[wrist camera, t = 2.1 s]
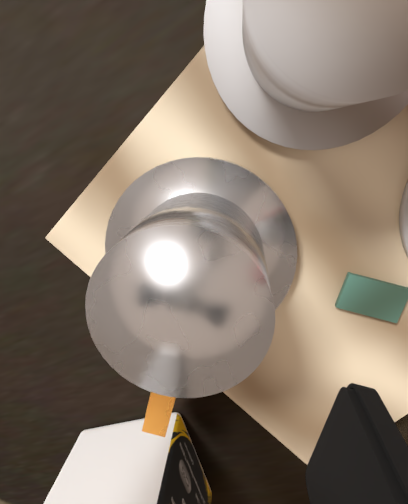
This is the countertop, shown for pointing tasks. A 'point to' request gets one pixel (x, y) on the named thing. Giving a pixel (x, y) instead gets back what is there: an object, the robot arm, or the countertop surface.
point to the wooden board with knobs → (296, 189)
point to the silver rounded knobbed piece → (190, 281)
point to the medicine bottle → (132, 467)
